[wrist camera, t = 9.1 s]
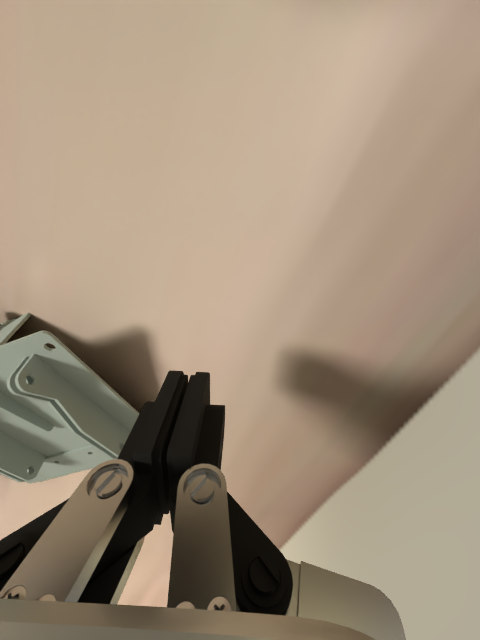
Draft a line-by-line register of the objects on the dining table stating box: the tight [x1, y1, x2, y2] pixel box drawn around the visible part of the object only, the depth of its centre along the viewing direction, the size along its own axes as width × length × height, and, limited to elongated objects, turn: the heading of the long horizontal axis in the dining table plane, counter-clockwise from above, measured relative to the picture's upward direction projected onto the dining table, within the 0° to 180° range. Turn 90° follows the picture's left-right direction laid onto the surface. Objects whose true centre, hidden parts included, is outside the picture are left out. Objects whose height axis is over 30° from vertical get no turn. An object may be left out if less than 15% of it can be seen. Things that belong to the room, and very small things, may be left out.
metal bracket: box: [0, 313, 140, 483], centre depth 18 cm, size 14×6×15 cm
